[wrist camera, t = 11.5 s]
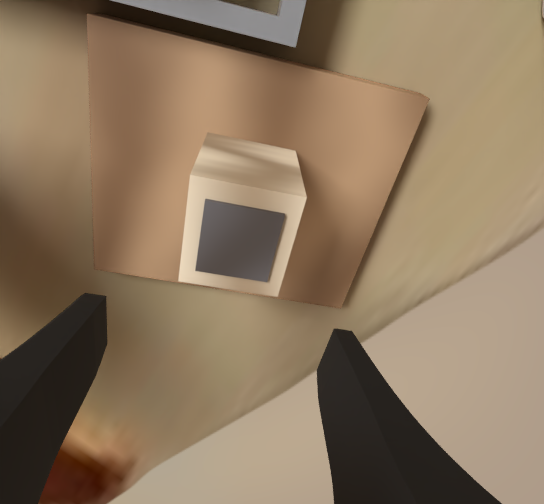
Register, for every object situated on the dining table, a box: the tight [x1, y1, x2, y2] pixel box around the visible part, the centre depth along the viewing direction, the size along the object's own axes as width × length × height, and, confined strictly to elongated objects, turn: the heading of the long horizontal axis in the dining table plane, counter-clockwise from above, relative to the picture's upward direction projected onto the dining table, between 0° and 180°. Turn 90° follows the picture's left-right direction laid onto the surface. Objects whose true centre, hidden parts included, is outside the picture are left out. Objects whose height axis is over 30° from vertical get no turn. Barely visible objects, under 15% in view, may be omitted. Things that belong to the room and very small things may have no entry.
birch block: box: [178, 132, 307, 297], centre depth 16 cm, size 4×4×5 cm
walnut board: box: [87, 13, 430, 308], centre depth 19 cm, size 14×12×1 cm
